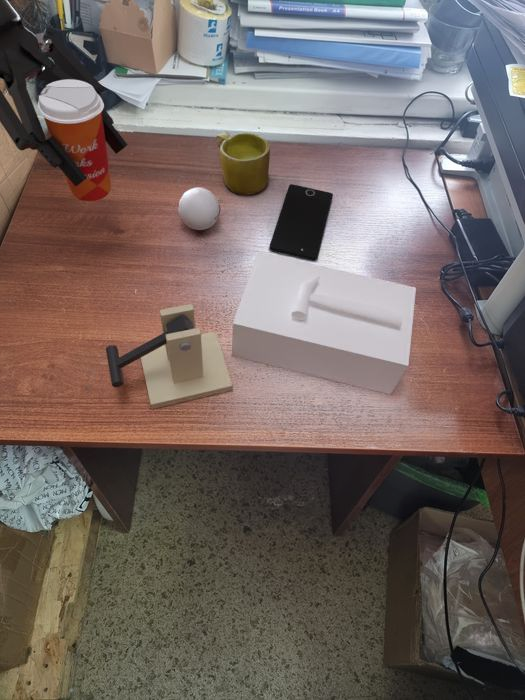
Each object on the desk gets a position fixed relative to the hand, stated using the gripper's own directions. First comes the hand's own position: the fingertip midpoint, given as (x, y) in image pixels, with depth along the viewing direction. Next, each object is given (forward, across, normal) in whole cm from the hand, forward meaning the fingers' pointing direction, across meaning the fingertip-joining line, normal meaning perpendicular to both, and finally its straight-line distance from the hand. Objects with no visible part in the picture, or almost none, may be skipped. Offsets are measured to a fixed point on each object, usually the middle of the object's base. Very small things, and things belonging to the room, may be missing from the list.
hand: (102, 165), depth 72 cm
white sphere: (+18, -15, -8) cm, 25 cm away
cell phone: (+29, -25, +3) cm, 38 cm away
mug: (+18, -29, -8) cm, 35 cm away
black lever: (+22, +17, +6) cm, 28 cm away
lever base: (+29, +14, +3) cm, 32 cm away
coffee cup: (+2, 0, -6) cm, 7 cm away
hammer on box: (+39, -3, +13) cm, 41 cm away
